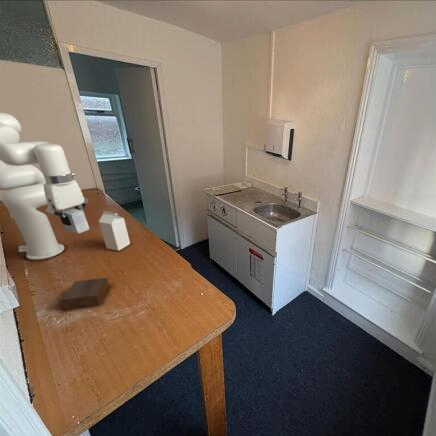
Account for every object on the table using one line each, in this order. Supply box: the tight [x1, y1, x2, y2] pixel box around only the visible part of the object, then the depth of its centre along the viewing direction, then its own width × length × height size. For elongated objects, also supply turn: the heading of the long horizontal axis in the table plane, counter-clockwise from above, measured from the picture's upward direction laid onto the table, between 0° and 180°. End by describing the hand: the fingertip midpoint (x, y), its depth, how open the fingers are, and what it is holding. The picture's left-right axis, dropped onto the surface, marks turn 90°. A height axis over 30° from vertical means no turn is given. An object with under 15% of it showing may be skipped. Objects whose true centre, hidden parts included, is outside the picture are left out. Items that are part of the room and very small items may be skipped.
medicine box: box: [62, 207, 90, 234], centre depth 94 cm, size 8×4×9 cm, turn 72°
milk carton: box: [98, 210, 131, 252], centre depth 114 cm, size 7×7×19 cm
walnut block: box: [60, 277, 110, 311], centre depth 86 cm, size 10×10×4 cm
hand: (74, 221), depth 94 cm, fingers closed on medicine box, 4 cm apart
